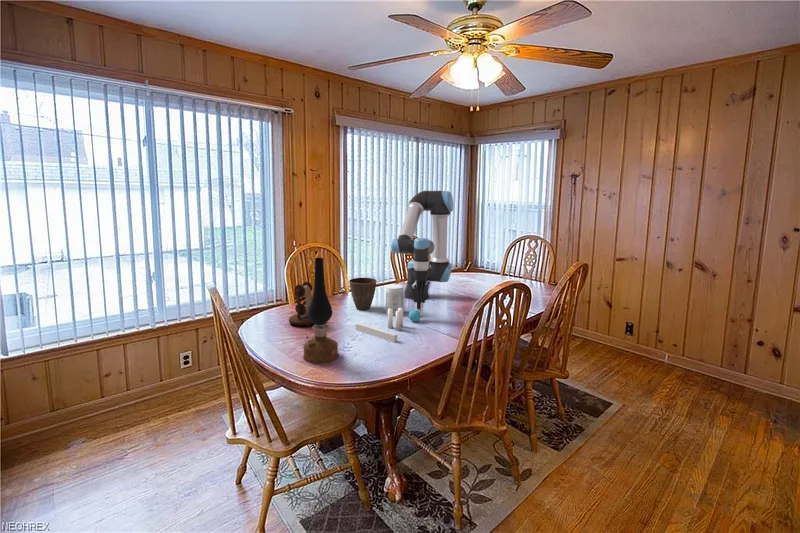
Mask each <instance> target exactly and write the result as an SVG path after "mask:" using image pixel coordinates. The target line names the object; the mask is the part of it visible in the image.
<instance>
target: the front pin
mask: <svg viewBox="0 0 800 533" xmlns="http://www.w3.org/2000/svg"><path fill="white" fill-rule="evenodd" d="M398 311H401V328H403V327H402V326H404V312H403V308H398Z"/></svg>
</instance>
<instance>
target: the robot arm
mask: <svg viewBox="0 0 800 533" xmlns="http://www.w3.org/2000/svg"><path fill="white" fill-rule="evenodd" d="M453 211H454V198H453V194H452V192H451V191H450V190H449V191H448V190H422V191H419V192H418V193H416V194H415V195H413V197H412V198H411V199H410V200H409V202H408V204H407V212H406V215H405V218H404V221H403V224H402V227H401V229H400V232H399V234H398V237H397V238H394V239H392V240H391V243H390V249H391V251H392V253H393V254H400V255H401V254H403V255H413V259H411V260H409V261H408V262H407V268H406V269H407V273H406V274H407V275H406V276H407V278H406V279H407V280H406V281H407V282H406V287H405V291H404V299H405V298H406V299H408V300H413V302H414V303H416V310H418V311H419V312H420V314H421V317H423V316H424V303H426V301H427V299H428V298H429V296H430V295H429V294H430V293H429V288H430V284H431V282H433V283H434V282H435V283H447V282H449V280H450V278H451V273H452V270H453V268H452V267H453V265H452V263H451V262H450V259H449V258H448V256H447V255H448V252H447V251H448V248H447V247H448V218H449V217H450V216H451V212H453ZM424 212H429V215H430V216H431V217H432V240H430V239H429V238H426V237H417V238H415V239H414V236H415V232H416V230H417V227H418V224H419V221H420V218H421V215H422V214H423V213H424ZM430 255H431V258H430Z"/></svg>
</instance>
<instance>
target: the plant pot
mask: <svg viewBox="0 0 800 533" xmlns="http://www.w3.org/2000/svg"><path fill="white" fill-rule="evenodd" d="M348 283H349V288H350V293H351V297H352V301H353V303H354V306H355V309H356V310H358V311H368V310H370V309H371V307H372V304H373V300H374V296H375V293H376V288H377V279H376V278H372V277H354V278H351V279H349V282H348Z"/></svg>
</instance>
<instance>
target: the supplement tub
mask: <svg viewBox="0 0 800 533" xmlns="http://www.w3.org/2000/svg"><path fill="white" fill-rule="evenodd" d="M404 292H405V291H404V285H401V284H387V285H386V286H385V313H386V314H387V315H388V309H393V316H396V311H398V308H403V313H404V311H405V310H404V308H405V307H404V306H405V305H404V303H405V302H404V299H405V297H404Z"/></svg>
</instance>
